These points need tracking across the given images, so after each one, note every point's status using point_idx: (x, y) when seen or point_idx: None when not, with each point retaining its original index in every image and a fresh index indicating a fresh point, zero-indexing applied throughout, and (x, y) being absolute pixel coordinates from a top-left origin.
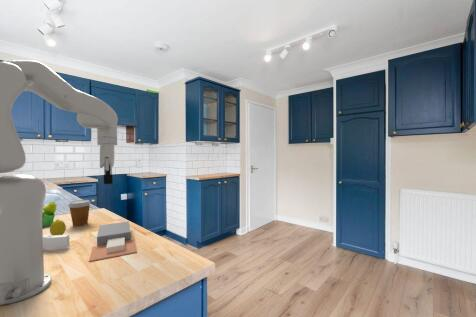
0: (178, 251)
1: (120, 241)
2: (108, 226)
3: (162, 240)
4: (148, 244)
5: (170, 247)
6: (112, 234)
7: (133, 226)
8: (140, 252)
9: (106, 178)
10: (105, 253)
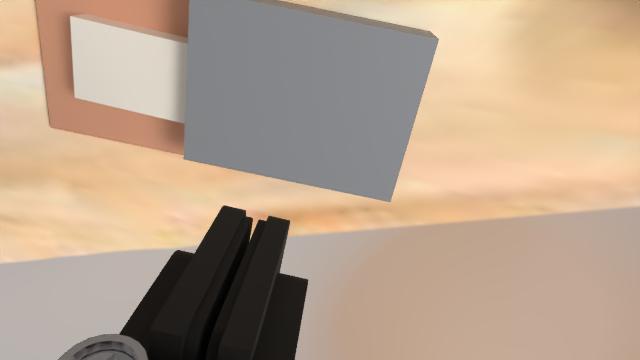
0: (6, 241)
1: (128, 92)
2: (368, 83)
3: (139, 241)
4: (122, 187)
5: (53, 236)
6: (189, 73)
7: (428, 210)
8: (50, 137)
9: (146, 299)
10: (84, 9)
